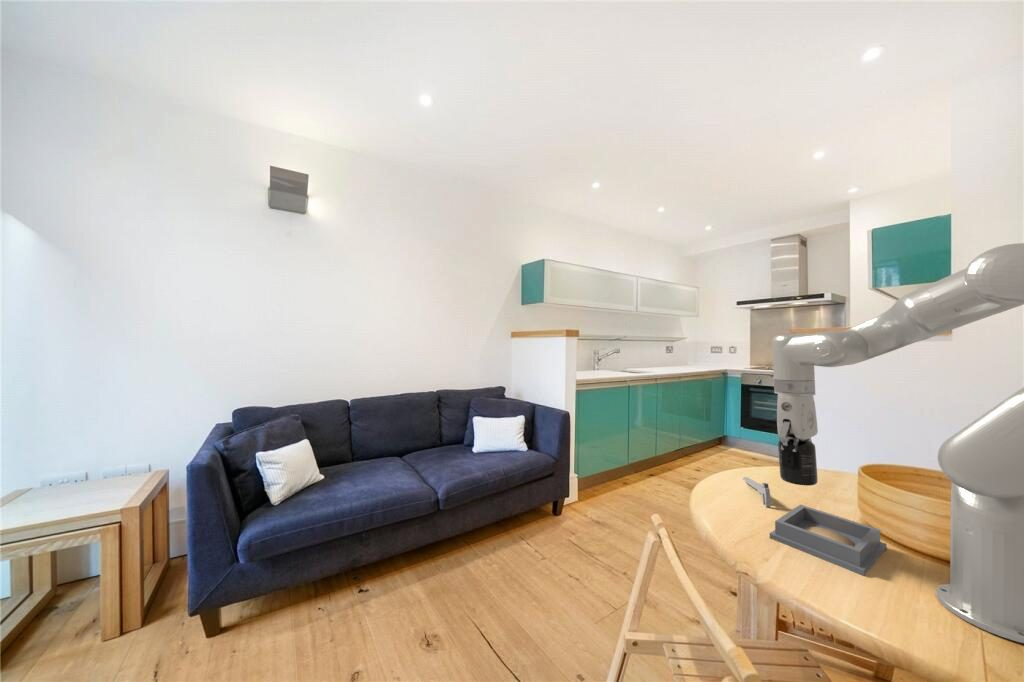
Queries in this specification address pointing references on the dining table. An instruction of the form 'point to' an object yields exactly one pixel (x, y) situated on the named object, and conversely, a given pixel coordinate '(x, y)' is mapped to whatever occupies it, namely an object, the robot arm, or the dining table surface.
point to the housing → (830, 538)
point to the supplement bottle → (801, 465)
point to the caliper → (760, 490)
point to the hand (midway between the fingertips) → (797, 464)
